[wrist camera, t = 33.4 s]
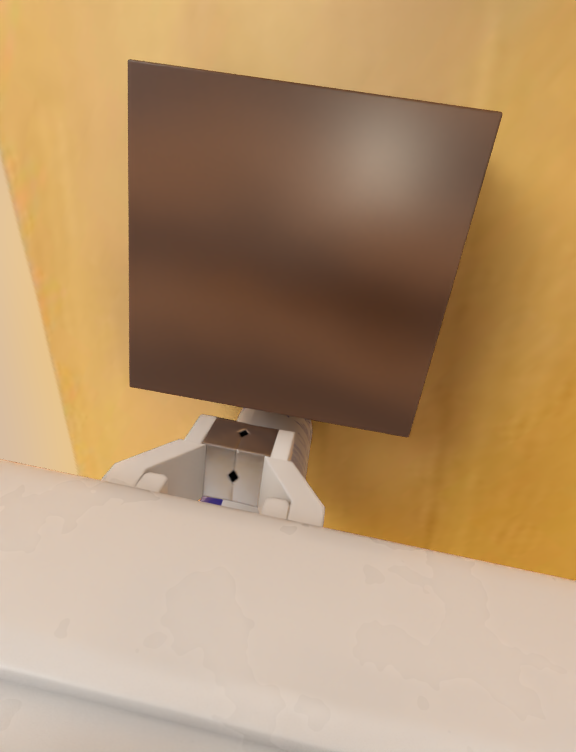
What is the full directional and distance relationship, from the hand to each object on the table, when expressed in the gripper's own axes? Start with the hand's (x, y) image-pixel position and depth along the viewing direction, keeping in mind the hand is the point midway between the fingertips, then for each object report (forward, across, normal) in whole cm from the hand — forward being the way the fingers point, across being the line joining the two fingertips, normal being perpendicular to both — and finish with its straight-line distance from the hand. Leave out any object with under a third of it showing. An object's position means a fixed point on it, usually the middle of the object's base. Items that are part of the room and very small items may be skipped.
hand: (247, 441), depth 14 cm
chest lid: (+9, +1, -4) cm, 10 cm away
